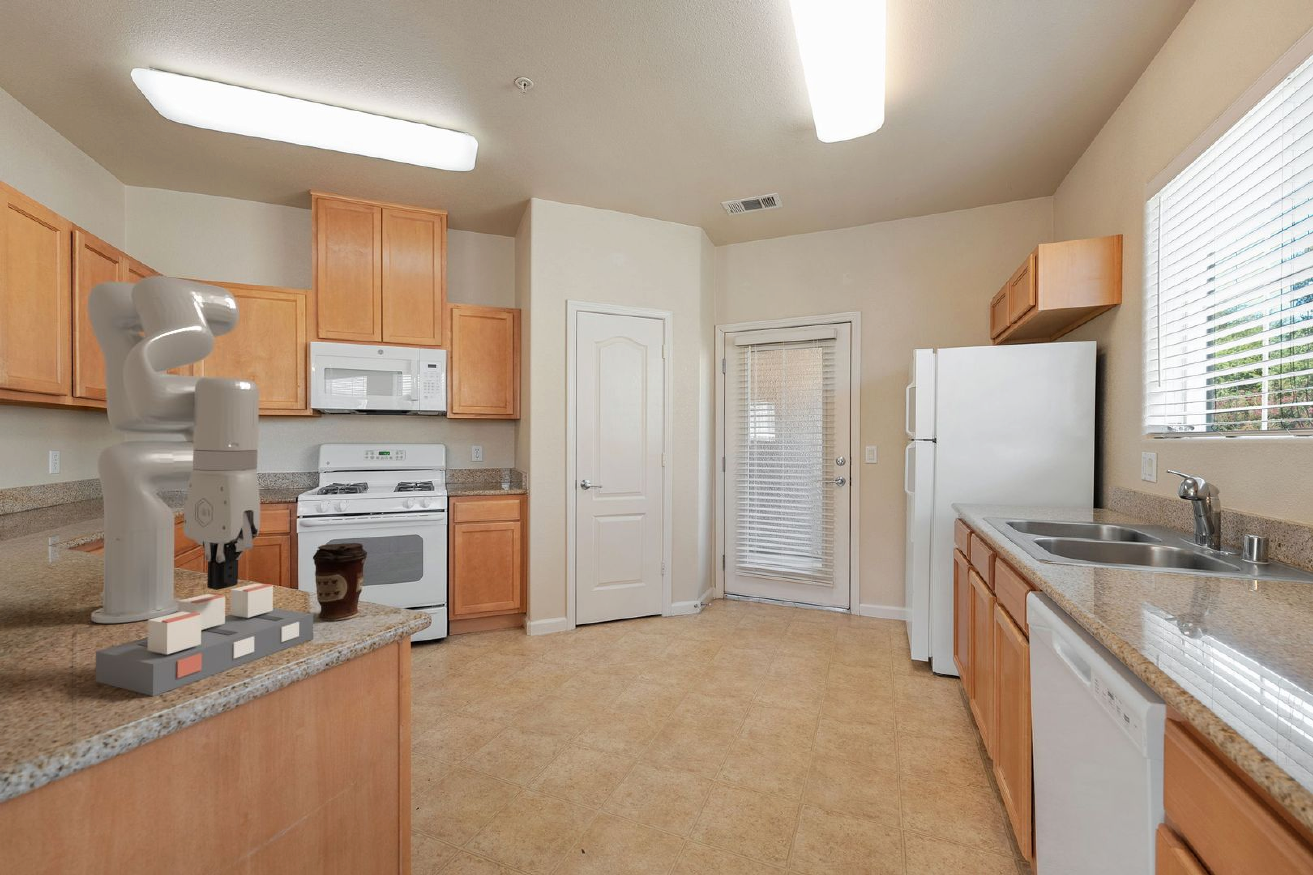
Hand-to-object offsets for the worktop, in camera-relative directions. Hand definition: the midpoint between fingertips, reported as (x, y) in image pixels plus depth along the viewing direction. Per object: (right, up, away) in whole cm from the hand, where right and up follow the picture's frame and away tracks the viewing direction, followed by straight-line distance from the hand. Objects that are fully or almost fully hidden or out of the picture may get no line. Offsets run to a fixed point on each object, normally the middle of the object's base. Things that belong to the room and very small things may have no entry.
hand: (222, 586), depth 83 cm
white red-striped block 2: (-1, -6, +8) cm, 10 cm away
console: (-1, -11, 0) cm, 11 cm away
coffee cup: (+6, -11, +20) cm, 23 cm away
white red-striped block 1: (-4, -6, +1) cm, 7 cm away
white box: (-1, -6, -7) cm, 10 cm away
